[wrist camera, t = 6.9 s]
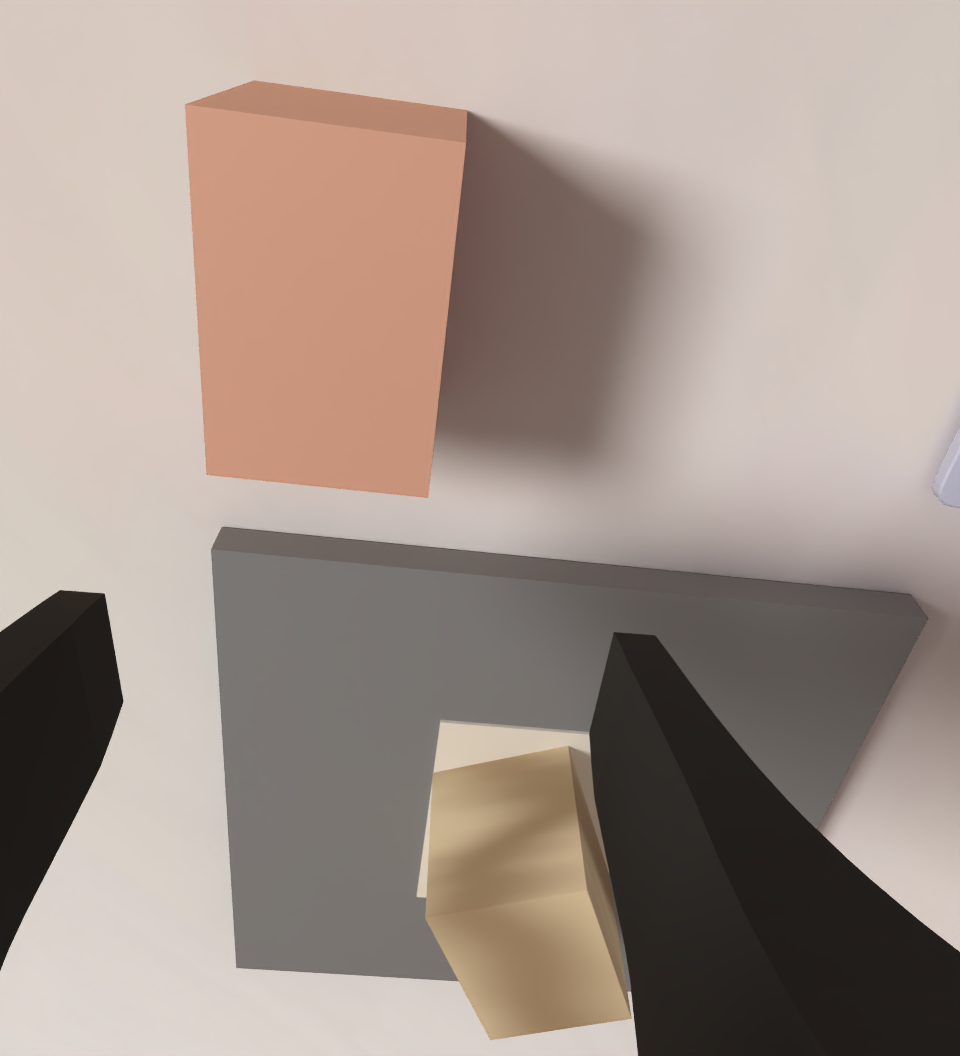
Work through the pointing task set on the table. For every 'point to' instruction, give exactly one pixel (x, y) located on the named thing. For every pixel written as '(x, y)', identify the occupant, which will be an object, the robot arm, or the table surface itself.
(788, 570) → the table surface
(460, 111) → the terracotta brick
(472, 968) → the maple brick
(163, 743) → the table surface
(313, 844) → the baseplate
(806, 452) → the table surface
